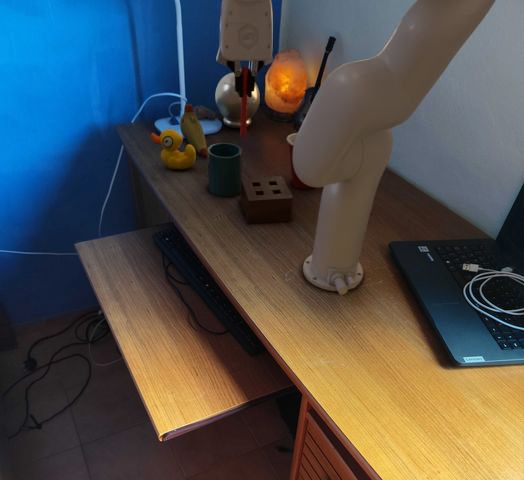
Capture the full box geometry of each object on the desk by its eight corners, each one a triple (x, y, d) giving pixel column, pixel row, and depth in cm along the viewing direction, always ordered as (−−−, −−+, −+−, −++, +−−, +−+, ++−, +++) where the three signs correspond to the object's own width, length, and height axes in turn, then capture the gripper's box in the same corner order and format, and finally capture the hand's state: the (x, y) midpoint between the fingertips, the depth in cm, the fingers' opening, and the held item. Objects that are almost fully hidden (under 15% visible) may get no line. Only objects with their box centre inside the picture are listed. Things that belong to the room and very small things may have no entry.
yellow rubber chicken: (215, 159, 131) (214, 122, 124) (196, 161, 129) (194, 124, 122) (192, 130, 143) (190, 95, 136) (175, 133, 142) (172, 97, 134)
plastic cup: (323, 176, 127) (330, 131, 118) (323, 195, 120) (330, 149, 111) (284, 172, 128) (288, 127, 119) (281, 191, 120) (285, 145, 111)
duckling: (152, 170, 125) (147, 132, 117) (157, 161, 128) (152, 124, 121) (194, 174, 125) (192, 136, 117) (198, 164, 128) (195, 127, 121)
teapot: (264, 131, 145) (267, 73, 133) (223, 135, 142) (222, 75, 130) (247, 109, 157) (248, 54, 145) (208, 112, 153) (206, 56, 141)
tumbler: (244, 195, 118) (244, 156, 111) (211, 197, 117) (209, 158, 109) (238, 179, 124) (238, 142, 116) (206, 181, 122) (205, 143, 115)
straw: (246, 136, 105) (248, 67, 95) (240, 136, 105) (242, 67, 95) (245, 133, 106) (247, 65, 96) (240, 133, 106) (241, 65, 95)
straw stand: (290, 220, 111) (293, 197, 107) (248, 223, 109) (248, 200, 105) (280, 198, 118) (282, 176, 114) (240, 201, 116) (240, 178, 112)
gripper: (207, -9, 82) (210, 102, 95) (292, -7, 84) (283, 101, 98) (202, -18, 87) (205, 89, 100) (282, -16, 89) (275, 88, 103)
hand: (244, 94), depth 99 cm, fingers closed on straw, 1 cm apart
